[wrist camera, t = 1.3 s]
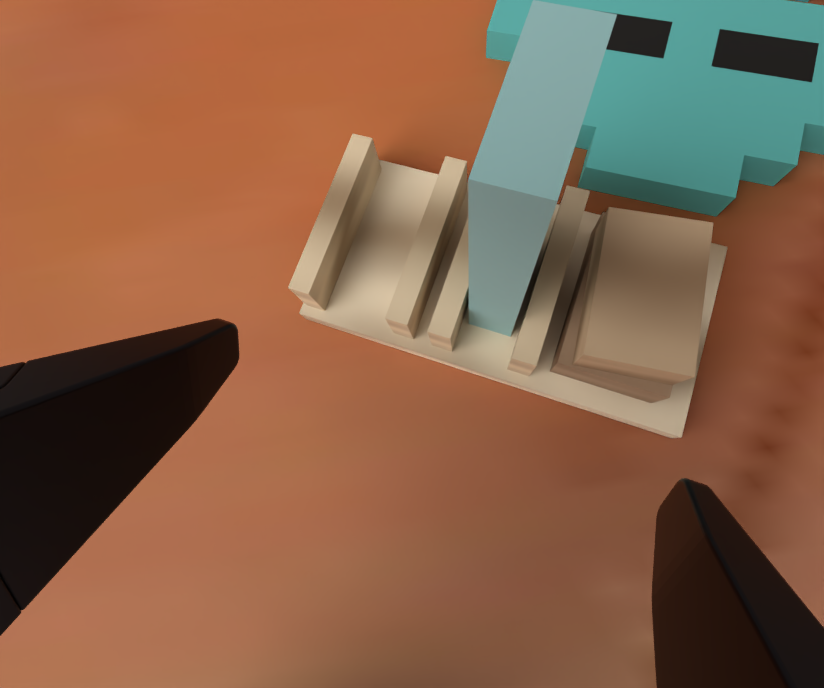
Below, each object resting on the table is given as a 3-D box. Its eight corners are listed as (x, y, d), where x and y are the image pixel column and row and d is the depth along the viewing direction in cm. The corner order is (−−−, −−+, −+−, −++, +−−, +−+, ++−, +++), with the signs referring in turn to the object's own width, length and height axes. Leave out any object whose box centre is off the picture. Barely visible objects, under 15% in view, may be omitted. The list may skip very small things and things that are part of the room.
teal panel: (510, 336, 22) (557, 200, 10) (468, 323, 22) (468, 179, 11) (541, 239, 23) (617, 14, 11) (500, 229, 23) (533, -1, 12)
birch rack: (672, 438, 21) (710, 434, 18) (306, 319, 24) (279, 297, 21) (716, 255, 23) (760, 220, 19) (367, 167, 26) (352, 123, 23)
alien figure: (544, -114, 30) (451, 165, 26) (550, -159, 27) (450, 139, 24) (909, -77, 26) (861, 253, 22) (948, -125, 24) (903, 231, 20)
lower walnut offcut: (650, 403, 20) (669, 397, 19) (549, 371, 21) (557, 362, 19) (688, 257, 22) (709, 238, 20) (591, 232, 23) (602, 211, 21)
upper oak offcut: (671, 385, 19) (694, 377, 17) (572, 364, 19) (583, 354, 17) (689, 245, 20) (713, 222, 18) (595, 230, 20) (608, 206, 19)
